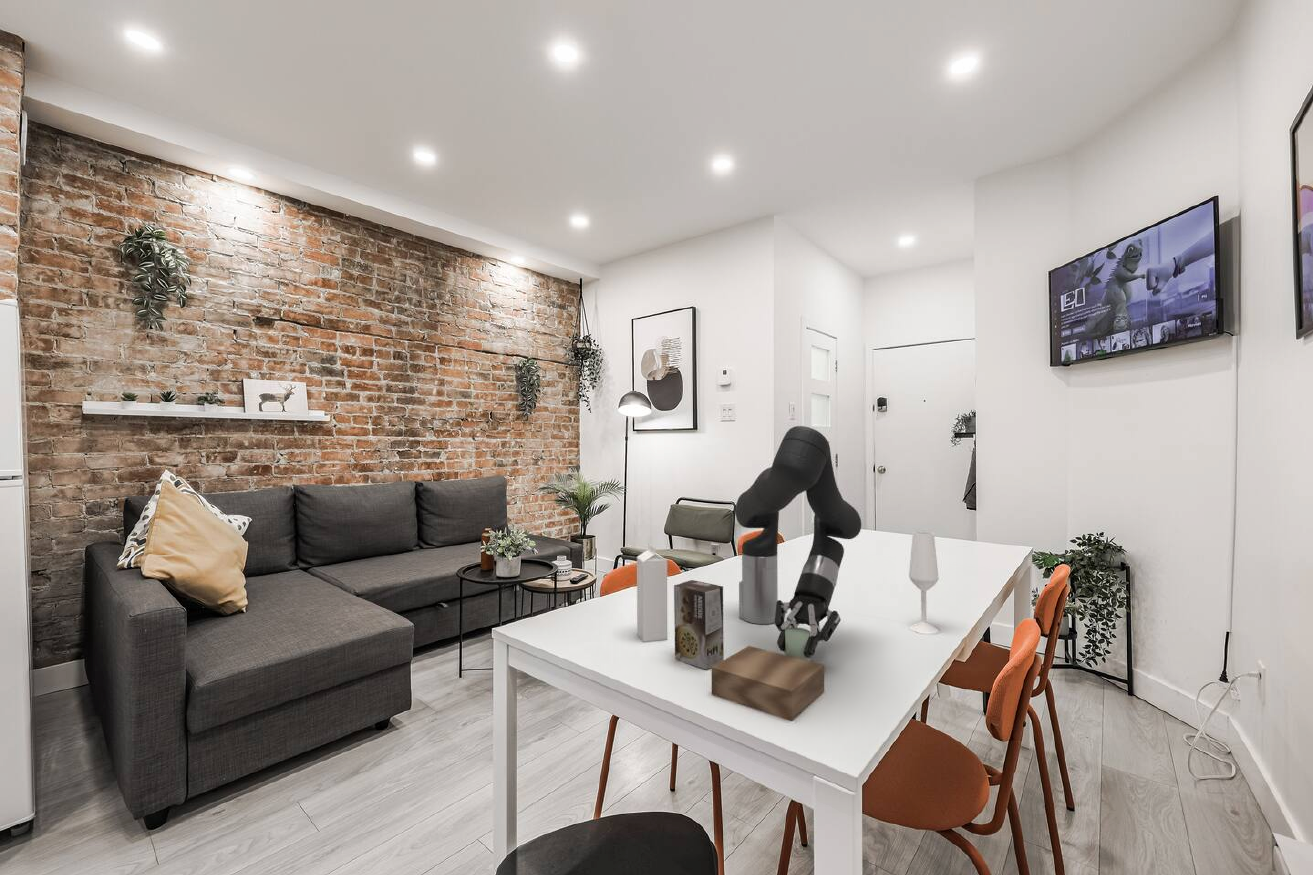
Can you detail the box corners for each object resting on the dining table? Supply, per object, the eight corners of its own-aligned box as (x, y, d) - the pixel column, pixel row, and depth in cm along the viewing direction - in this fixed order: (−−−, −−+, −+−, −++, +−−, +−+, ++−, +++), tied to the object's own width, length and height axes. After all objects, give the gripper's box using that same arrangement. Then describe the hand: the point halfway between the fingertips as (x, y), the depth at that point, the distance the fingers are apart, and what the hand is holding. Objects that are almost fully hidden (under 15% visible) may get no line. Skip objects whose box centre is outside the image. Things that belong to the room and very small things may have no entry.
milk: (643, 642, 131) (642, 548, 131) (636, 634, 137) (636, 543, 137) (668, 639, 133) (667, 546, 133) (660, 631, 138) (659, 542, 138)
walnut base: (711, 694, 104) (711, 667, 104) (748, 670, 115) (748, 645, 115) (791, 720, 94) (791, 690, 94) (824, 691, 105) (824, 664, 105)
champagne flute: (934, 635, 135) (933, 536, 135) (905, 629, 139) (904, 533, 139) (942, 628, 140) (941, 532, 140) (914, 623, 144) (913, 529, 144)
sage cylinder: (781, 671, 114) (781, 632, 114) (791, 663, 118) (791, 625, 118) (804, 677, 111) (804, 637, 111) (814, 669, 115) (814, 630, 115)
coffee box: (725, 661, 119) (724, 586, 119) (705, 670, 115) (705, 591, 115) (692, 650, 126) (692, 578, 126) (673, 658, 121) (672, 584, 121)
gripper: (781, 566, 125) (755, 635, 115) (845, 576, 116) (822, 651, 106) (792, 585, 129) (767, 653, 120) (854, 596, 120) (833, 670, 111)
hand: (794, 652), depth 113 cm, fingers closed on sage cylinder, 5 cm apart
